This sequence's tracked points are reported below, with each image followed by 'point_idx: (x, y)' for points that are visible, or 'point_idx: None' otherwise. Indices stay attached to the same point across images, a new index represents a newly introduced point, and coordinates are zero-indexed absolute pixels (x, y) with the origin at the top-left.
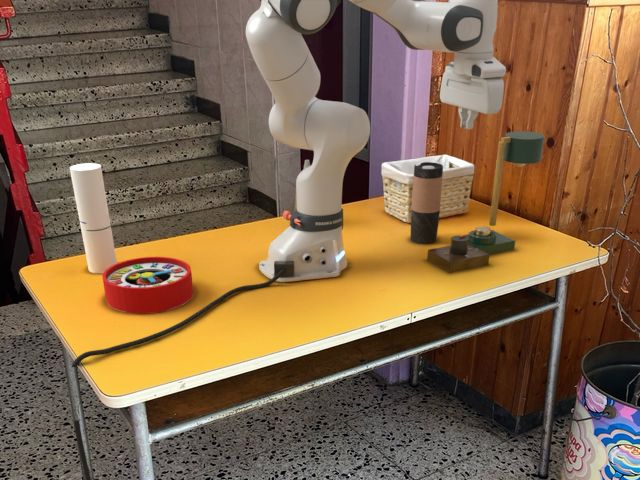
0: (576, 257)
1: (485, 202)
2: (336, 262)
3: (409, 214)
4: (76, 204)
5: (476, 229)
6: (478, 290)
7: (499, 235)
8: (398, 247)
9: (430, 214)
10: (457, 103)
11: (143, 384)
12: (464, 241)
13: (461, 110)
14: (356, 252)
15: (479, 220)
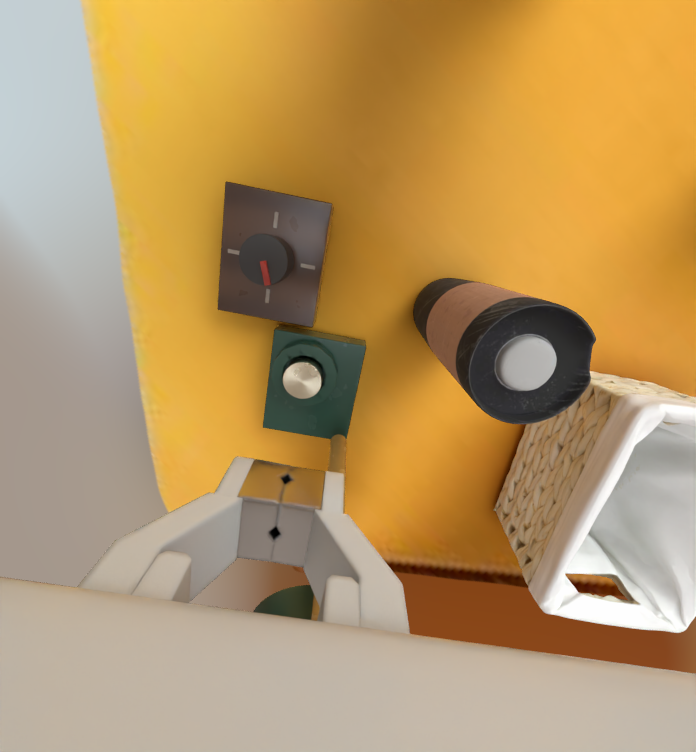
0: (173, 475)
1: (514, 581)
2: None
3: None
4: None
5: (308, 364)
6: (113, 161)
7: (308, 426)
8: (452, 220)
9: (430, 309)
10: (404, 676)
11: None
12: (239, 253)
13: (332, 595)
14: (508, 83)
15: (447, 498)
